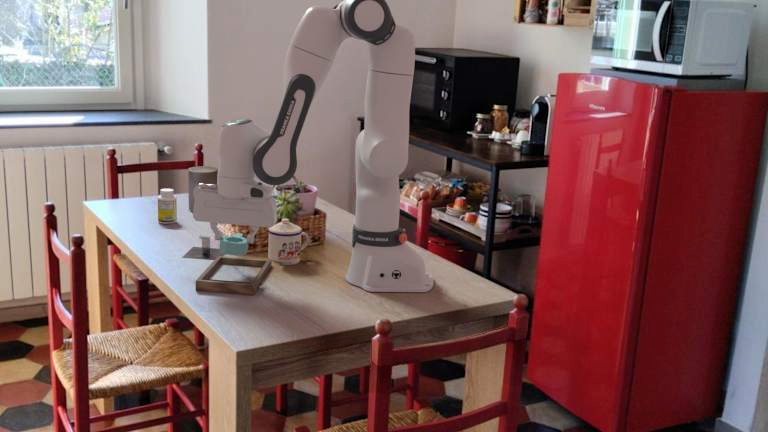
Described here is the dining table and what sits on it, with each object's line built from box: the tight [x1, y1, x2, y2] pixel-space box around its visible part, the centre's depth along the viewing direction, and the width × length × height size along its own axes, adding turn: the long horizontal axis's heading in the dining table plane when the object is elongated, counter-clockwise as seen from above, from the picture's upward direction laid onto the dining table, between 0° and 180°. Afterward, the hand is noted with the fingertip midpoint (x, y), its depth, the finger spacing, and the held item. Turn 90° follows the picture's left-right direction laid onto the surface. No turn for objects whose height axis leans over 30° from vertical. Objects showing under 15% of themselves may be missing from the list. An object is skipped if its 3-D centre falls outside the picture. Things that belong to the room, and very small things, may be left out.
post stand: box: [181, 235, 226, 261], centre depth 218 cm, size 10×10×6 cm
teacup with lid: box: [267, 218, 310, 266], centre depth 219 cm, size 12×9×12 cm
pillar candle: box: [187, 165, 219, 212], centre depth 265 cm, size 10×10×15 cm
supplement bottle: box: [157, 188, 178, 225], centre depth 248 cm, size 6×6×10 cm
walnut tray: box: [195, 255, 272, 296], centre depth 202 cm, size 14×20×2 cm
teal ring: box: [218, 232, 249, 257], centre depth 202 cm, size 10×6×3 cm
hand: (234, 241), depth 200 cm, fingers closed on teal ring, 7 cm apart
